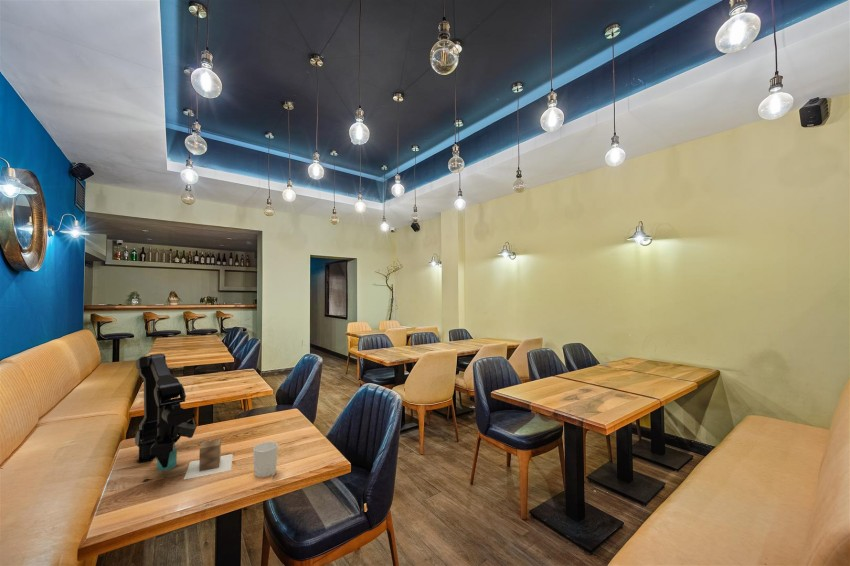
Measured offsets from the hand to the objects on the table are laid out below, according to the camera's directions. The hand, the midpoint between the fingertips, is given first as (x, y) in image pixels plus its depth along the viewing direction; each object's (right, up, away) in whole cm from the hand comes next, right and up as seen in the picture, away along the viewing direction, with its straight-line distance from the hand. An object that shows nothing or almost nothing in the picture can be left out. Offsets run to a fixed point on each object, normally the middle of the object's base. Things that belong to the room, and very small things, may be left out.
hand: (166, 463), depth 121 cm
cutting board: (+12, -5, +6) cm, 14 cm away
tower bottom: (+12, -4, +6) cm, 13 cm away
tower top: (+12, 0, +6) cm, 13 cm away
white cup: (+34, -5, +1) cm, 34 cm away
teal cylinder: (0, -1, 0) cm, 1 cm away
